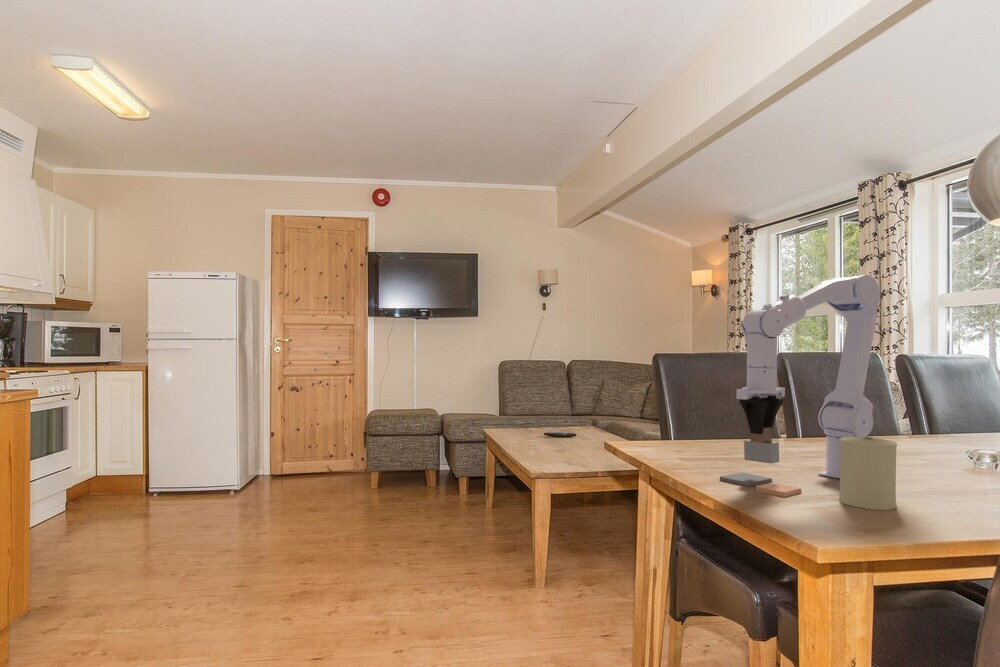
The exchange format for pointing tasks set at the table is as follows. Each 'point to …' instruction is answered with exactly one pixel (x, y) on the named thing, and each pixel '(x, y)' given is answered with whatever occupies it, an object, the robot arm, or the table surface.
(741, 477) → the mat
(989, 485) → the table surface
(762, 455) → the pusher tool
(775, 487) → the tile
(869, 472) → the can
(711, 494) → the table surface
